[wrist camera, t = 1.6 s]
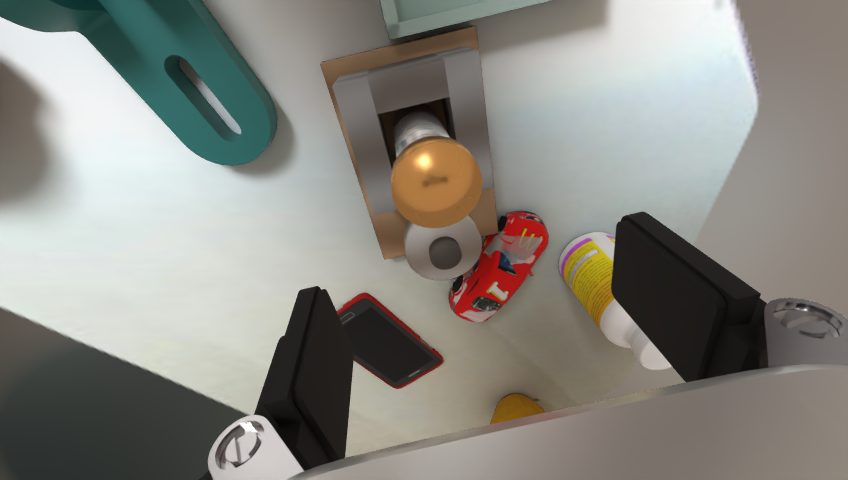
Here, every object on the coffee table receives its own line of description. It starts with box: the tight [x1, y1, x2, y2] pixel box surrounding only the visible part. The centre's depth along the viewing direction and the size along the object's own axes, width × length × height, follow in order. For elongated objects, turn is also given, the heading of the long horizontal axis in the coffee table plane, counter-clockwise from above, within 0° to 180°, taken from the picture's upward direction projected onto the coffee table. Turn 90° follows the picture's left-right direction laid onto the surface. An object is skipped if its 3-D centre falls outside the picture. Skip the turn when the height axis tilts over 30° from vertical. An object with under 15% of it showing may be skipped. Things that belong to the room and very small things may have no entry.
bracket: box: [0, 0, 277, 166], centre depth 21 cm, size 18×7×8 cm, turn 27°
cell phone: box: [337, 293, 443, 389], centre depth 42 cm, size 8×15×1 cm, turn 37°
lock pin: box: [391, 103, 483, 228], centre depth 22 cm, size 4×4×12 cm
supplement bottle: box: [559, 232, 672, 370], centre depth 33 cm, size 7×7×13 cm
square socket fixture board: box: [320, 26, 498, 280], centre depth 27 cm, size 17×11×8 cm, turn 12°
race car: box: [449, 211, 548, 323], centre depth 36 cm, size 13×5×4 cm, turn 149°
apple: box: [490, 394, 546, 425], centre depth 47 cm, size 8×8×9 cm
